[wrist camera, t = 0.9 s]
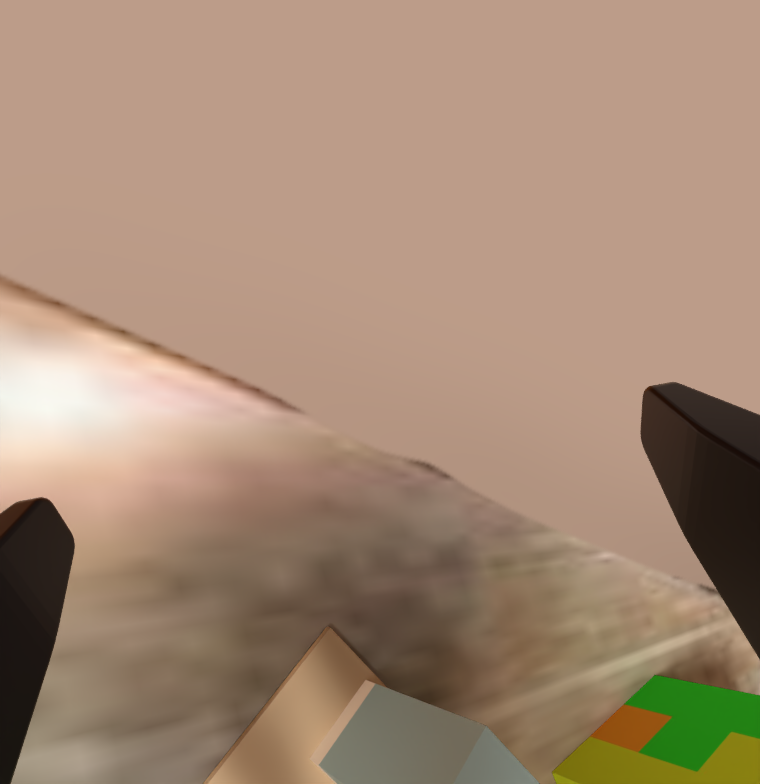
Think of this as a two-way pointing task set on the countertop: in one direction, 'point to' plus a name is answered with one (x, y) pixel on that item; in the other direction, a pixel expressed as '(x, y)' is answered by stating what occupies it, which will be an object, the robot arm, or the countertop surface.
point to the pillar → (412, 745)
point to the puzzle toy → (672, 739)
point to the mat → (297, 719)
